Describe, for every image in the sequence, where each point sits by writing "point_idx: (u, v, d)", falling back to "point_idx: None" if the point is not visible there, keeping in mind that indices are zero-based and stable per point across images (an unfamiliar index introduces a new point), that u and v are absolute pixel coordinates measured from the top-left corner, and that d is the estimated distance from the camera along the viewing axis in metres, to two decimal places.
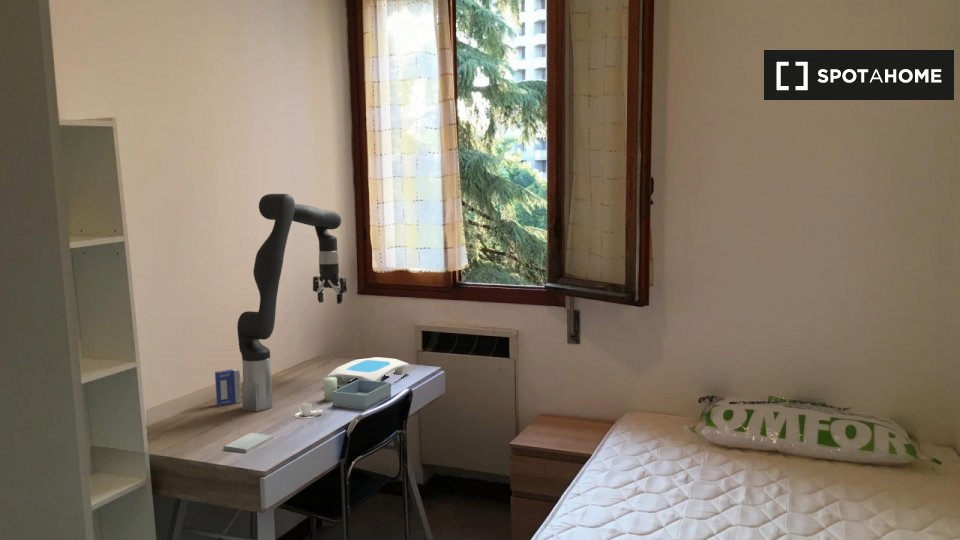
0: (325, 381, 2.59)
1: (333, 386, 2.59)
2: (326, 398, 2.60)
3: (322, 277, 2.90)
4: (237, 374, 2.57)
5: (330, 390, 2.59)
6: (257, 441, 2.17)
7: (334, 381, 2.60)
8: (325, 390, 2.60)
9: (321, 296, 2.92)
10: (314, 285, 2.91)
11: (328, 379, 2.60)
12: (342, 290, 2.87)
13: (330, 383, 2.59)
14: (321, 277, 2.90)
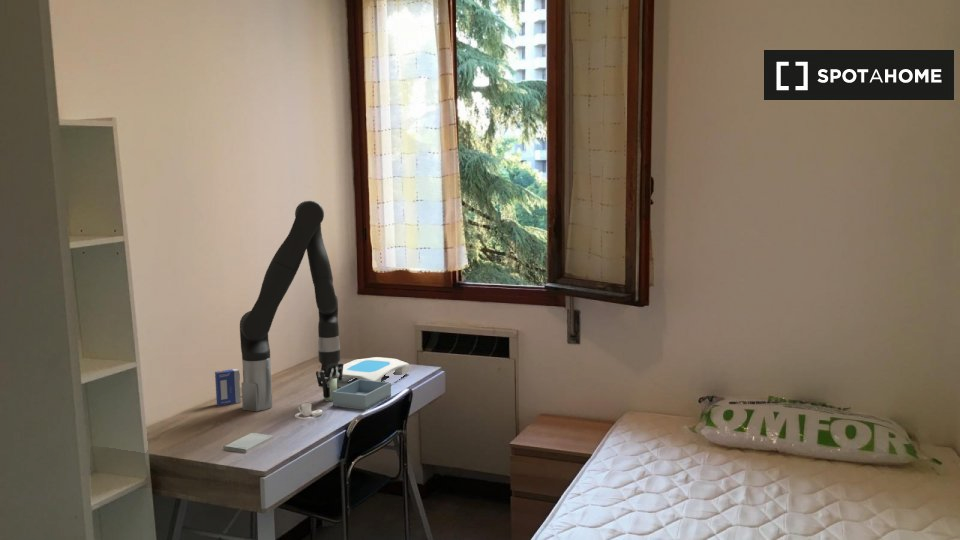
0: None
1: (333, 386, 2.59)
2: (326, 398, 2.60)
3: (328, 366, 2.57)
4: (237, 374, 2.57)
5: (330, 390, 2.59)
6: (257, 441, 2.16)
7: (334, 381, 2.60)
8: None
9: None
10: (324, 380, 2.56)
11: None
12: (341, 377, 2.65)
13: (330, 383, 2.59)
14: (327, 367, 2.57)
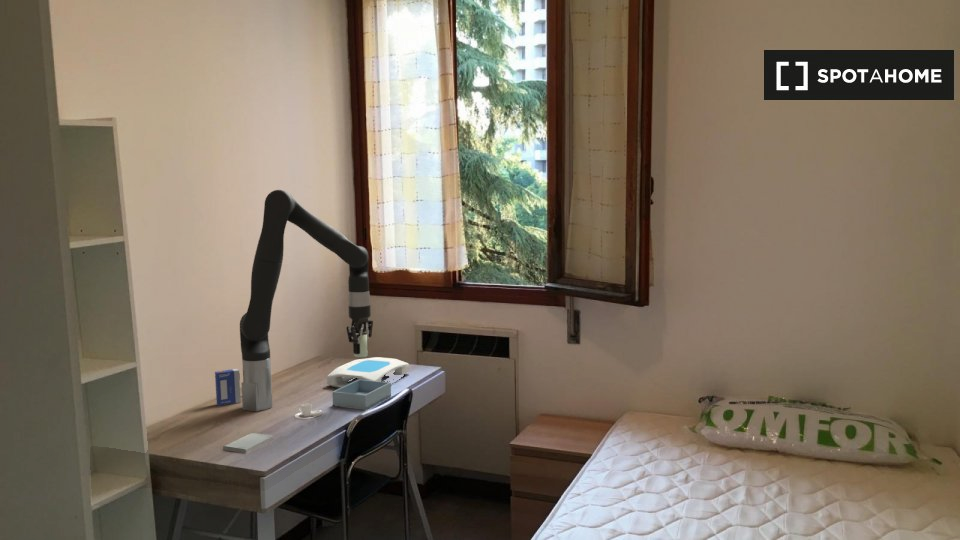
0: (356, 337, 2.54)
1: (363, 342, 2.55)
2: (356, 354, 2.55)
3: (358, 322, 2.53)
4: (237, 374, 2.57)
5: (360, 347, 2.54)
6: (257, 441, 2.16)
7: (364, 337, 2.55)
8: None
9: None
10: (355, 336, 2.51)
11: None
12: (370, 334, 2.60)
13: (360, 339, 2.54)
14: (357, 322, 2.52)
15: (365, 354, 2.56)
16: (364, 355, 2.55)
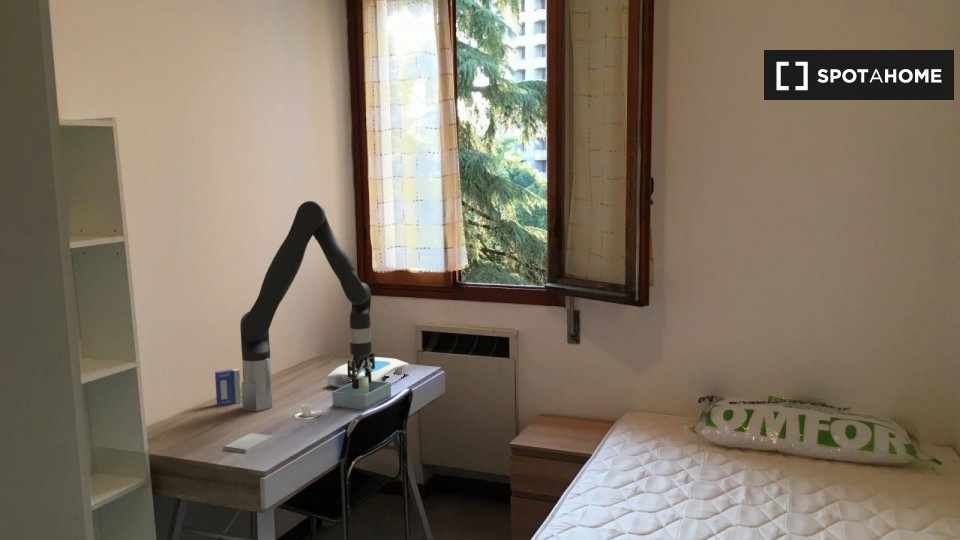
0: None
1: (365, 385, 2.57)
2: None
3: (360, 358, 2.54)
4: (237, 374, 2.57)
5: (361, 389, 2.56)
6: (257, 441, 2.16)
7: (365, 380, 2.57)
8: (356, 389, 2.57)
9: None
10: (354, 371, 2.51)
11: (359, 378, 2.57)
12: (374, 366, 2.63)
13: (361, 382, 2.56)
14: (359, 359, 2.54)
15: None
16: None
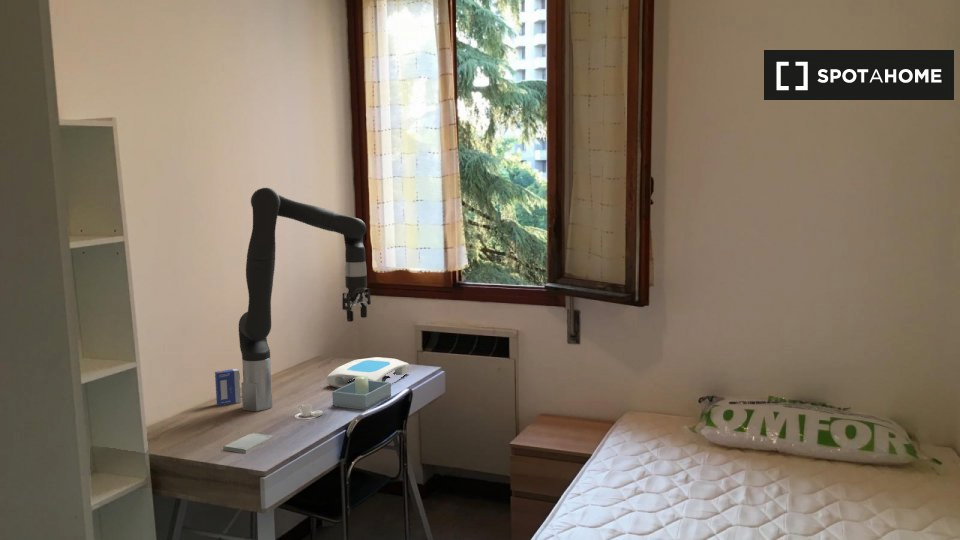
0: (356, 380, 2.56)
1: (364, 385, 2.57)
2: None
3: (355, 292, 2.59)
4: (237, 374, 2.57)
5: (361, 390, 2.56)
6: (257, 441, 2.16)
7: (365, 380, 2.57)
8: (356, 389, 2.57)
9: None
10: (349, 303, 2.56)
11: (359, 378, 2.57)
12: (369, 301, 2.68)
13: (361, 382, 2.56)
14: (354, 292, 2.58)
15: None
16: None
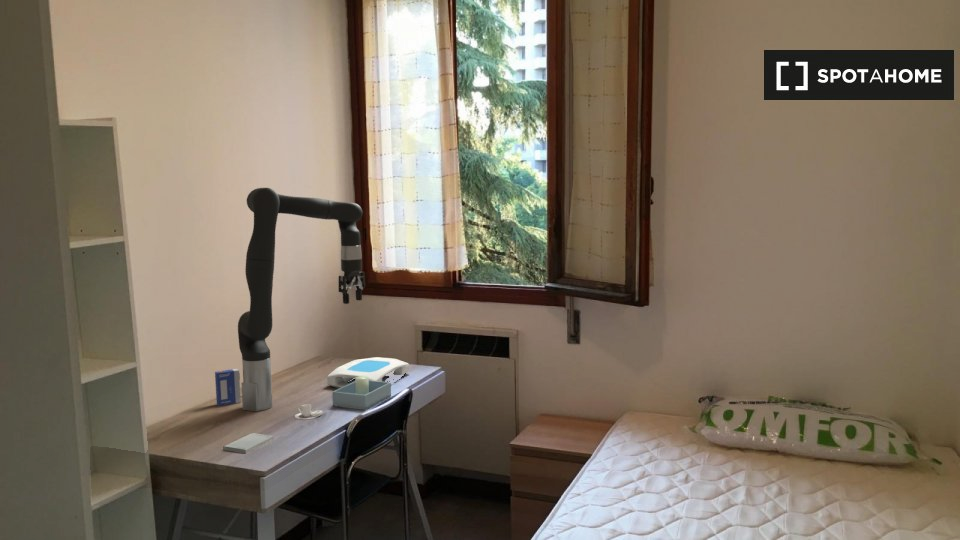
0: (357, 381, 2.56)
1: (364, 386, 2.57)
2: None
3: (350, 275, 2.65)
4: (237, 374, 2.57)
5: (361, 390, 2.56)
6: (256, 442, 2.16)
7: (365, 380, 2.57)
8: (356, 389, 2.57)
9: None
10: (345, 285, 2.62)
11: (359, 378, 2.57)
12: (364, 284, 2.74)
13: (361, 382, 2.56)
14: (350, 275, 2.65)
15: None
16: None
